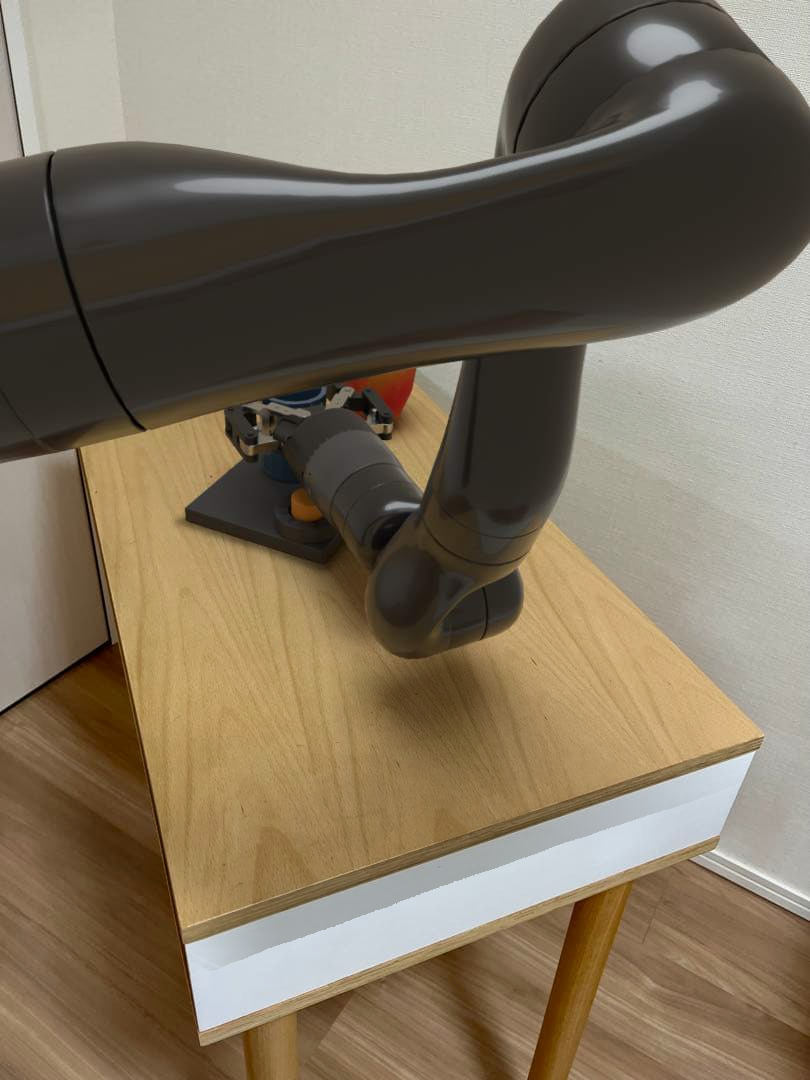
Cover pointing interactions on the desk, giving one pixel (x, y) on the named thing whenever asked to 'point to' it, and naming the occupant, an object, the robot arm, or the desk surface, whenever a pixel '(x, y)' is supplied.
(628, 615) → the desk surface
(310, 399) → the cup
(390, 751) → the desk surface
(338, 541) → the scale
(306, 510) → the button
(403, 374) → the apple
